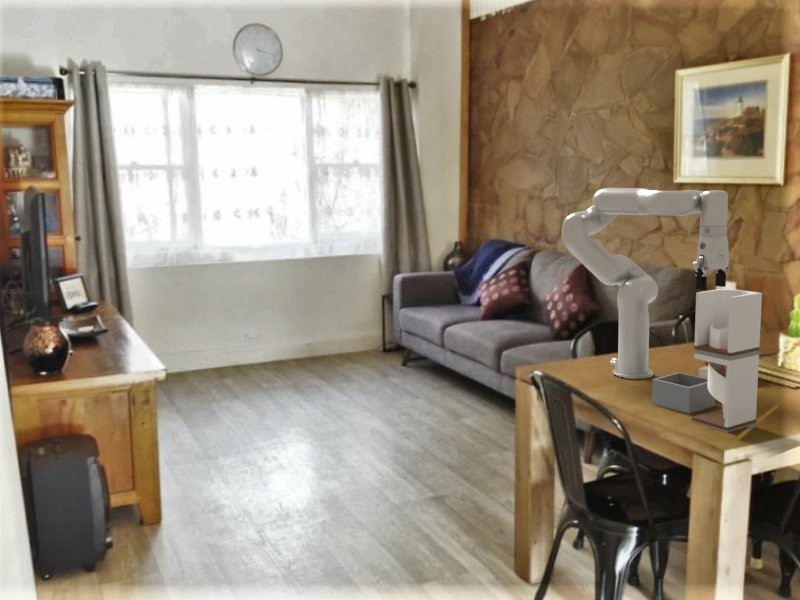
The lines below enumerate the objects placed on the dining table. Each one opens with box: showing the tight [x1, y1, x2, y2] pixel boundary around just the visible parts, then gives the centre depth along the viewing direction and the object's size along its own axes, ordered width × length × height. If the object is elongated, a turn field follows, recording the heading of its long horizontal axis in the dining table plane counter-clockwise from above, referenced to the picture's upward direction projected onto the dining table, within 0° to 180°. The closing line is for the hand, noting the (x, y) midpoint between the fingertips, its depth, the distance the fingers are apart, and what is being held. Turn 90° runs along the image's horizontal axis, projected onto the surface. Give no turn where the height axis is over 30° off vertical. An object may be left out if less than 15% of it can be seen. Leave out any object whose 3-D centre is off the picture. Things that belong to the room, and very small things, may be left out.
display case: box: [691, 287, 763, 433], centre depth 196 cm, size 11×11×35 cm
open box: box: [651, 371, 717, 415], centre depth 214 cm, size 12×12×8 cm
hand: (710, 287), depth 233 cm, fingers open, 9 cm apart
